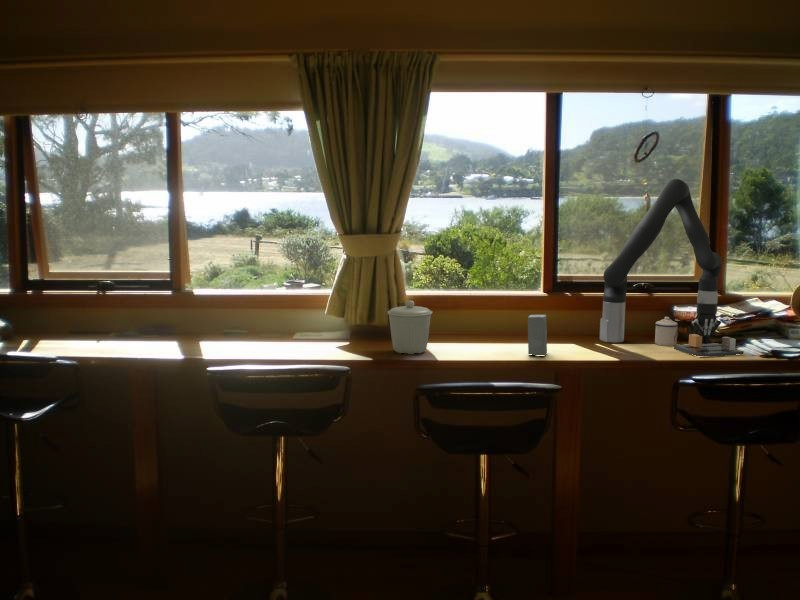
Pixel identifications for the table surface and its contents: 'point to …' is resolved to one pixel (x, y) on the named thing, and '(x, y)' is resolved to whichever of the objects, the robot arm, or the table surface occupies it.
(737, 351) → the console
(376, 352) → the table surface
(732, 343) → the fader silver
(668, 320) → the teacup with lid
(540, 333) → the skincare box
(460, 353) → the table surface
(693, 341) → the fader orange
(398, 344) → the canister
